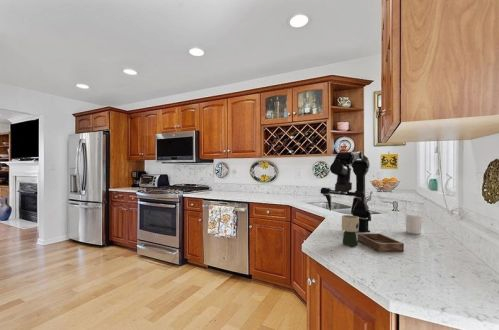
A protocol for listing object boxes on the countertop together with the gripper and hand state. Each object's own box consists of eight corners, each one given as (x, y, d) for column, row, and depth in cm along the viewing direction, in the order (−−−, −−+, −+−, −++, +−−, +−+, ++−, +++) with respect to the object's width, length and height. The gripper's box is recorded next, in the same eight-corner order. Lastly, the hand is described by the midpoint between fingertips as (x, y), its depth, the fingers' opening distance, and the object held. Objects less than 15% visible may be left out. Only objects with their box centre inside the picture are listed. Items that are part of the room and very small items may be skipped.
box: (379, 240, 119) (379, 233, 119) (403, 251, 104) (403, 243, 104) (357, 240, 118) (357, 233, 118) (378, 252, 102) (378, 243, 102)
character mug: (359, 250, 105) (360, 219, 105) (341, 247, 107) (342, 218, 107) (357, 242, 115) (357, 215, 115) (341, 240, 117) (341, 213, 117)
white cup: (401, 230, 139) (401, 213, 139) (412, 230, 141) (413, 213, 141) (413, 234, 132) (414, 216, 132) (425, 234, 134) (425, 215, 134)
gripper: (319, 173, 111) (316, 208, 109) (365, 177, 103) (362, 214, 100) (324, 177, 121) (321, 209, 119) (365, 180, 112) (363, 215, 110)
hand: (340, 211), depth 112 cm, fingers open, 9 cm apart
